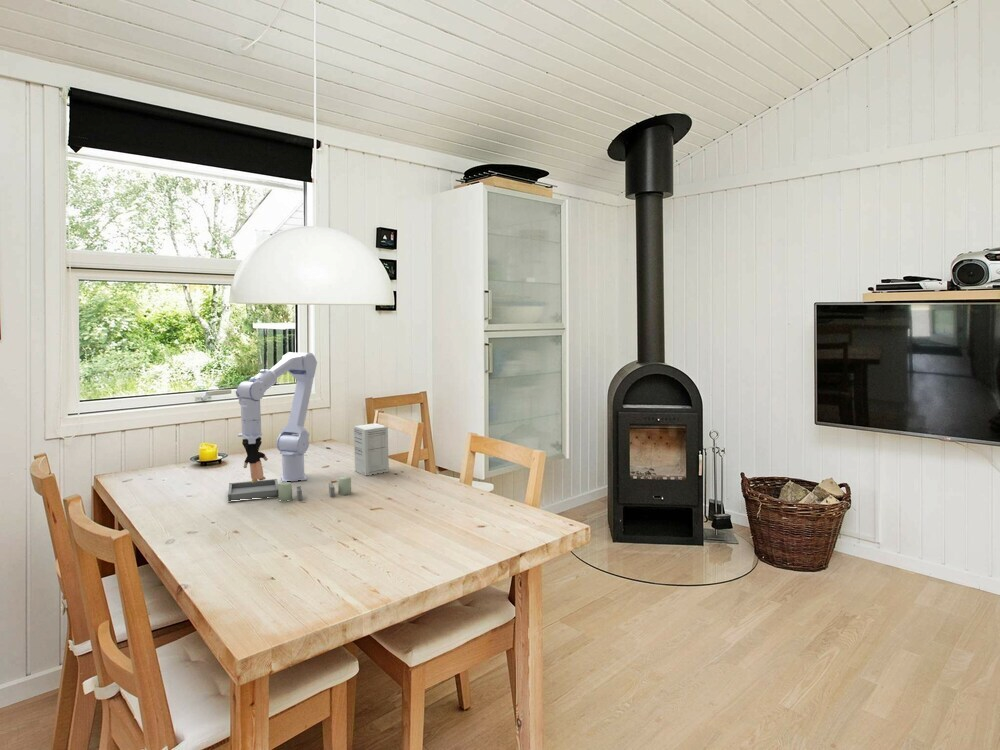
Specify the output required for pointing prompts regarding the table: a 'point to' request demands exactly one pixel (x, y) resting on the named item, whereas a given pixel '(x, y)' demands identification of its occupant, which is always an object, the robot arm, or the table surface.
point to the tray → (253, 489)
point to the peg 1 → (344, 485)
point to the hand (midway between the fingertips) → (252, 461)
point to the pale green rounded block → (285, 491)
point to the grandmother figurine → (256, 468)
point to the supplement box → (371, 449)
